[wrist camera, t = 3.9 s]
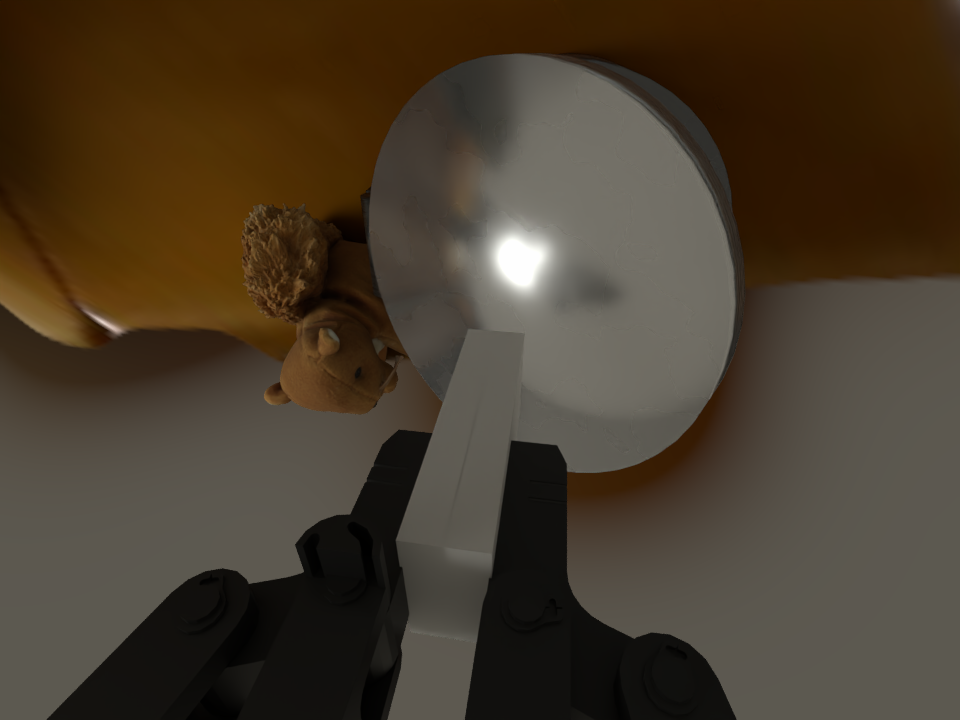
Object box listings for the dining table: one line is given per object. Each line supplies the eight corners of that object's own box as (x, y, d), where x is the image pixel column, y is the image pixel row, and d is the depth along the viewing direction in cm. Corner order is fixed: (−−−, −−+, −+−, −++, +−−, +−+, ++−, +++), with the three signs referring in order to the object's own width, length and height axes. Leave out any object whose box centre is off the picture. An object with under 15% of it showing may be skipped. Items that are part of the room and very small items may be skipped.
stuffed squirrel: (384, 367, 41) (319, 484, 30) (250, 243, 36) (117, 329, 26) (468, 304, 37) (429, 415, 26) (328, 153, 32) (207, 211, 21)
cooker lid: (399, 368, 26) (379, 380, 25) (363, 49, 18) (332, 50, 17) (677, 515, 18) (662, 540, 17) (839, 58, 10) (828, 59, 9)
